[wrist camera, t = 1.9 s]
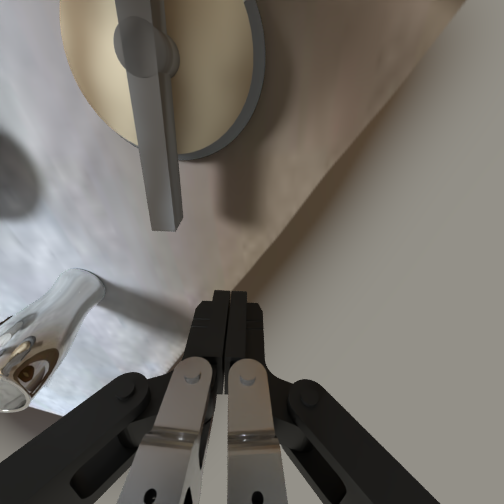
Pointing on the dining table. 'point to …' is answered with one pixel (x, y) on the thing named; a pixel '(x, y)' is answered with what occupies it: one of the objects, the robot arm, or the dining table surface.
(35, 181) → the dining table surface
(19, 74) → the dining table surface
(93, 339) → the dining table surface
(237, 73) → the capstan dial
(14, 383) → the beer glass
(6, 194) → the dining table surface
